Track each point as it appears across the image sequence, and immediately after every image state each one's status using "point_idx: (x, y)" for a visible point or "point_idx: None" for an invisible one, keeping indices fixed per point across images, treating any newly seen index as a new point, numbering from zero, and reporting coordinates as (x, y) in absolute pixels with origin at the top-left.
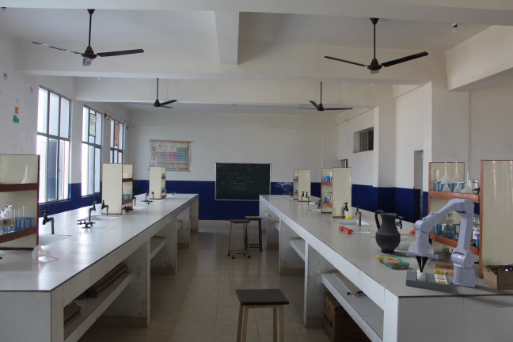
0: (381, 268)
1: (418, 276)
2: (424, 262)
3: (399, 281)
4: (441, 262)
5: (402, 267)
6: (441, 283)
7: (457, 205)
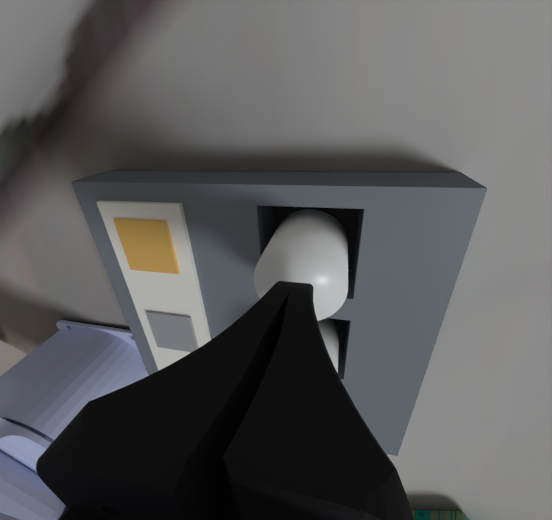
0: (539, 510)
1: (334, 245)
2: (186, 376)
3: (490, 283)
4: None
5: None
6: (140, 203)
7: None
